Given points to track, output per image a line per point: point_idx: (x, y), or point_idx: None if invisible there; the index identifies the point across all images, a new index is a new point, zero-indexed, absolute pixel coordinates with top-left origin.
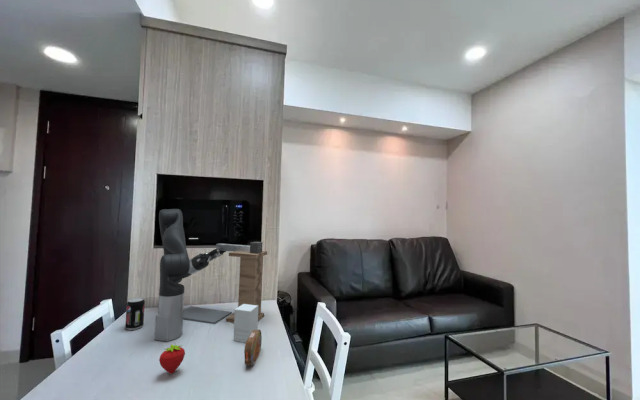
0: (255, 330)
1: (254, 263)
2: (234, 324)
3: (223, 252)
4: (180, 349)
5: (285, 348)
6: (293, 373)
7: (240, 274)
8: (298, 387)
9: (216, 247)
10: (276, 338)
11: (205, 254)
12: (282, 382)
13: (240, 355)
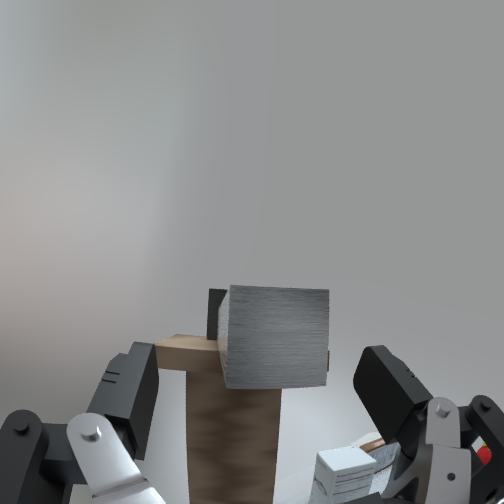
0: (366, 447)
1: None
2: (369, 488)
3: (149, 426)
4: (483, 443)
5: (314, 466)
6: (354, 443)
7: (276, 448)
8: (367, 434)
9: (326, 342)
10: (294, 483)
11: (474, 407)
12: (374, 440)
13: (382, 481)
